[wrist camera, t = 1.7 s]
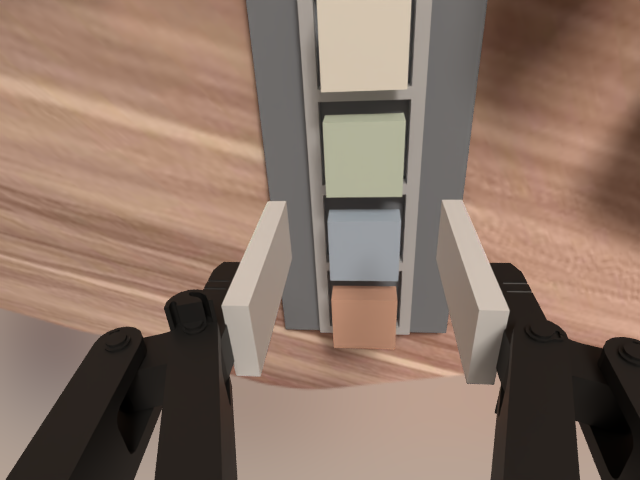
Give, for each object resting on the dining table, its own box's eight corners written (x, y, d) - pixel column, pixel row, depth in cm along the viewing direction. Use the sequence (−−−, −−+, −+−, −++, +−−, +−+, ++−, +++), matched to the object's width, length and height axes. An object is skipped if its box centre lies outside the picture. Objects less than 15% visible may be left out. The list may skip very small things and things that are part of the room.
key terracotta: (335, 332, 33) (333, 347, 32) (332, 285, 31) (331, 299, 30) (393, 333, 33) (395, 349, 31) (395, 286, 31) (397, 300, 29)
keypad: (288, 319, 38) (283, 337, 36) (246, -41, 24) (236, -42, 22) (443, 322, 36) (448, 341, 34) (488, -57, 23) (499, -60, 21)
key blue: (332, 266, 30) (330, 280, 29) (329, 209, 28) (327, 221, 27) (396, 267, 30) (398, 281, 28) (399, 209, 28) (401, 221, 26)
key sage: (328, 186, 27) (326, 197, 26) (325, 114, 25) (322, 122, 24) (400, 185, 27) (402, 196, 25) (403, 112, 25) (405, 120, 23)
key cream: (323, 85, 24) (321, 92, 23) (319, -6, 22) (316, -5, 21) (404, 83, 24) (407, 89, 22) (409, -12, 21) (411, -11, 20)
